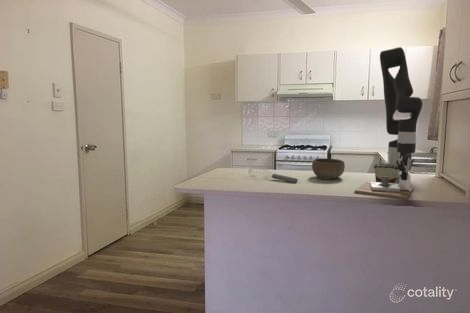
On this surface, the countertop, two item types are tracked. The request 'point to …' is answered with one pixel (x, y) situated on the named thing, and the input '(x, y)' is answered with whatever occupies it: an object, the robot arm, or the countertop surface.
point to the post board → (385, 179)
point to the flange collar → (392, 185)
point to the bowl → (328, 168)
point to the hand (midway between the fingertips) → (404, 180)
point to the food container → (386, 172)
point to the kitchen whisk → (278, 177)
